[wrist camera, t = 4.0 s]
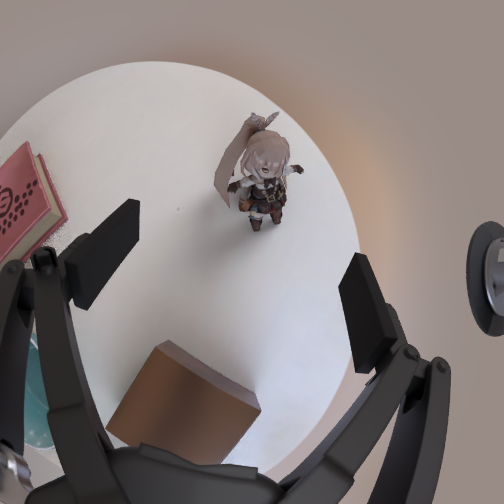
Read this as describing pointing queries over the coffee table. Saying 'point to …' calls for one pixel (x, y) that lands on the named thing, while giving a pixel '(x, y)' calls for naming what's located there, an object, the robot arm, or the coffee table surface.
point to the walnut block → (184, 408)
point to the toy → (257, 170)
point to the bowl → (36, 403)
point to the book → (26, 205)
